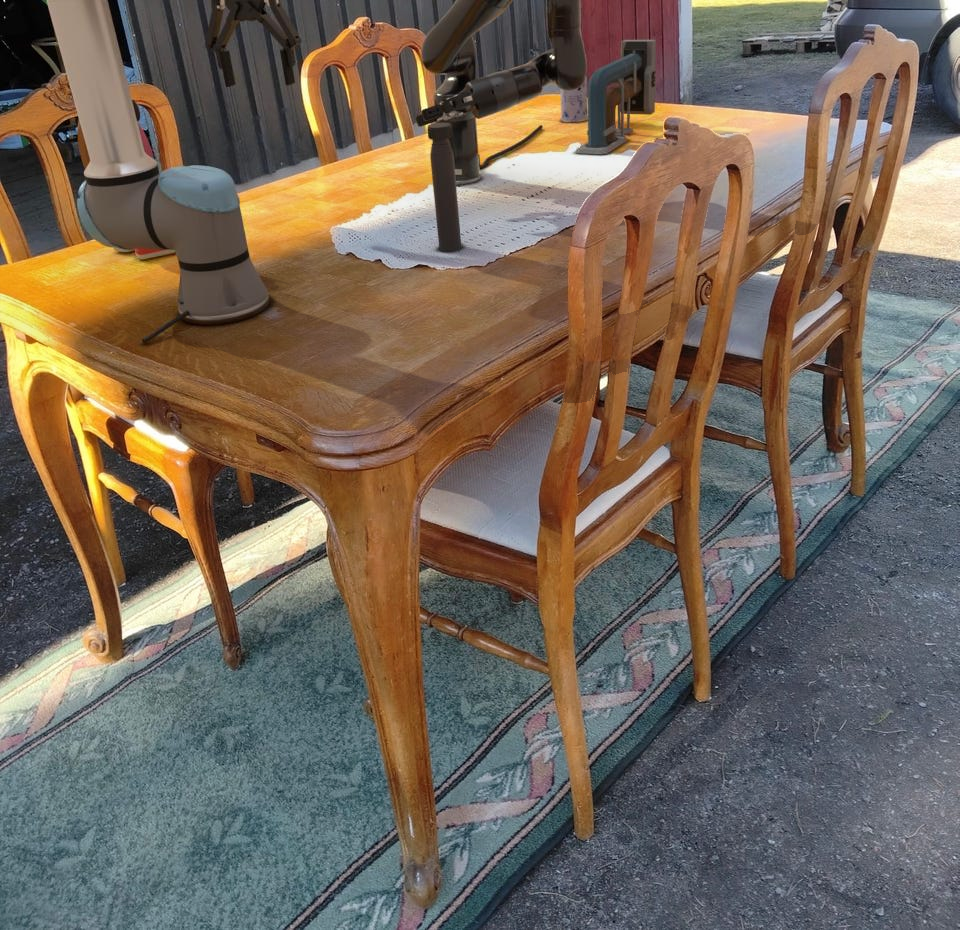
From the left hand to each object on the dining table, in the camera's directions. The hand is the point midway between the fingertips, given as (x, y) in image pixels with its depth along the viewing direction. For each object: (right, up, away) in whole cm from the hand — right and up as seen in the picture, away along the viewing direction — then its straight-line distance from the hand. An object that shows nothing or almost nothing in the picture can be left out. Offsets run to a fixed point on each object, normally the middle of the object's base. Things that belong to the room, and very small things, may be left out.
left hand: (260, 85), depth 196 cm
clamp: (+80, +9, +58) cm, 99 cm away
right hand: (+32, -6, +3) cm, 33 cm away
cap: (+37, -16, -22) cm, 46 cm away
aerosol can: (+72, +22, +82) cm, 111 cm away
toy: (-24, -33, +3) cm, 41 cm away
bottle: (+39, -35, -10) cm, 53 cm away
